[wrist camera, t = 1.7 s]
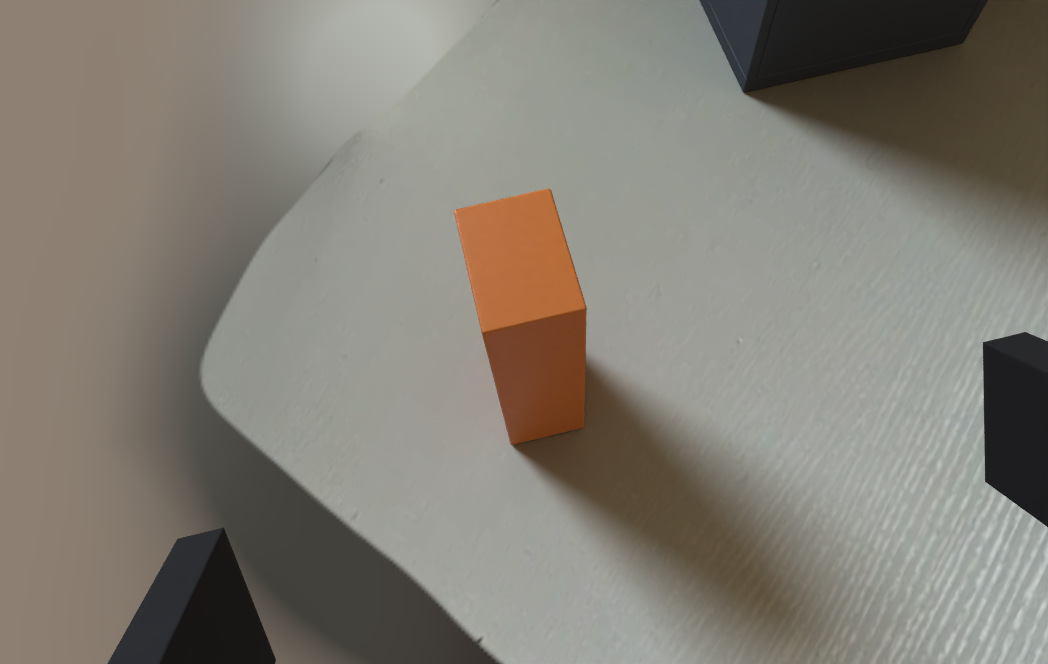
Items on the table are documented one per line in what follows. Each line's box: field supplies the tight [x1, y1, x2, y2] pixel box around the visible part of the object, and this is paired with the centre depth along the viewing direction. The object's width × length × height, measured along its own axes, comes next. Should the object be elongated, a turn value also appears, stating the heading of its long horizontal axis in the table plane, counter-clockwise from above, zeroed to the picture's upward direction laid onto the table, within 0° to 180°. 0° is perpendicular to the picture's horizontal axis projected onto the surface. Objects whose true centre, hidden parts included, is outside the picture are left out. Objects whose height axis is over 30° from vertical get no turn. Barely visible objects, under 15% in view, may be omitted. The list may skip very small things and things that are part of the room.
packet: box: [454, 189, 587, 445], centre depth 31 cm, size 4×5×12 cm
